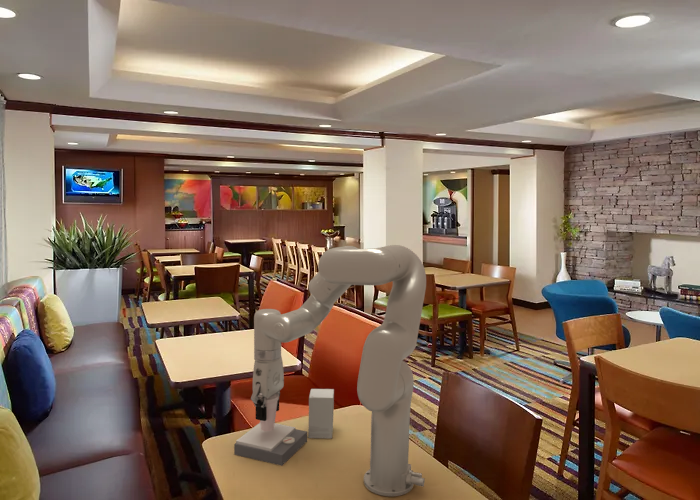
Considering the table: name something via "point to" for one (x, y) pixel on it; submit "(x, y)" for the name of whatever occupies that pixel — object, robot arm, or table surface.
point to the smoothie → (270, 412)
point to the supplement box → (321, 413)
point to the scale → (270, 443)
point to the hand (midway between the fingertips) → (267, 414)
